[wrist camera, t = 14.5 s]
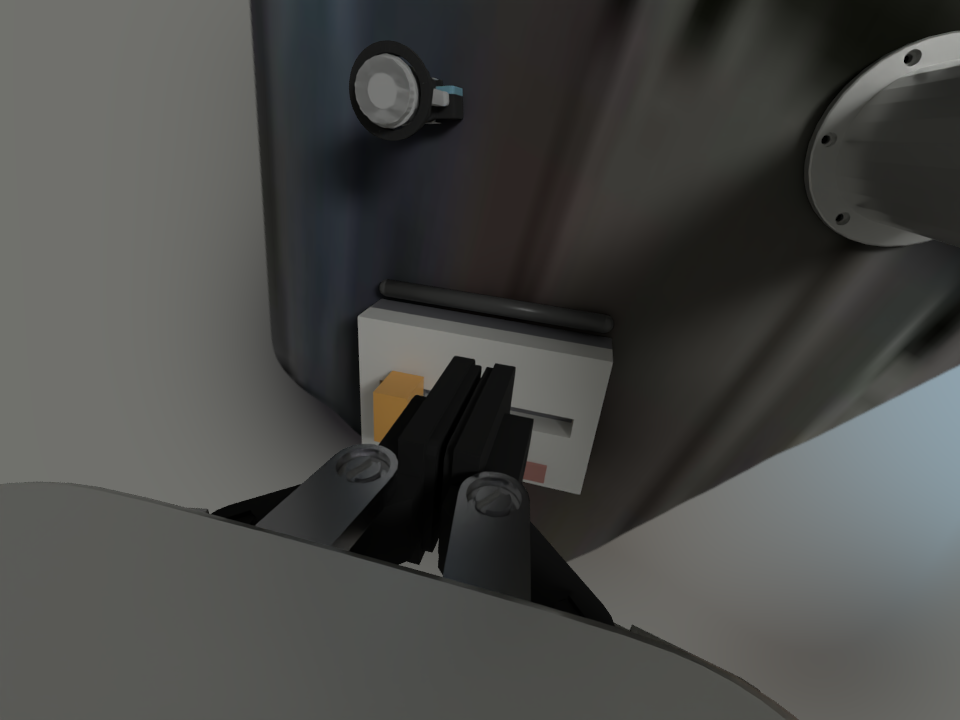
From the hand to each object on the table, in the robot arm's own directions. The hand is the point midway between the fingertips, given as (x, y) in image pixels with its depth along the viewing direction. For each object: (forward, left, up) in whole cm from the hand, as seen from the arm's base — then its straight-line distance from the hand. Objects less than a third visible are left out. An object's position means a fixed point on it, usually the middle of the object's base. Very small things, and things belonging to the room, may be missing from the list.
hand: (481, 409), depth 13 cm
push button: (+12, -8, -29) cm, 33 cm away
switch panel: (+5, +15, -29) cm, 33 cm away
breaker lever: (+11, +16, -26) cm, 32 cm away
